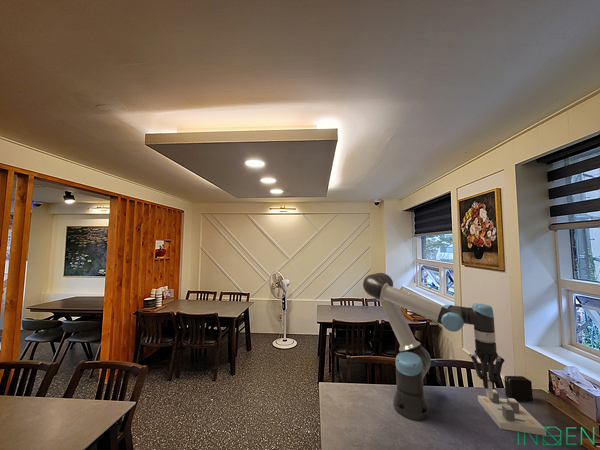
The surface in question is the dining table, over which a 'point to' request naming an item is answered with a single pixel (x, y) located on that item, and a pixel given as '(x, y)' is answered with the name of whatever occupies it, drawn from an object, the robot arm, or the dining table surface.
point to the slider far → (495, 397)
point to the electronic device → (518, 388)
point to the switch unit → (521, 423)
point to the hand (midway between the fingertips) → (489, 396)
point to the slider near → (508, 412)
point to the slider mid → (513, 404)
